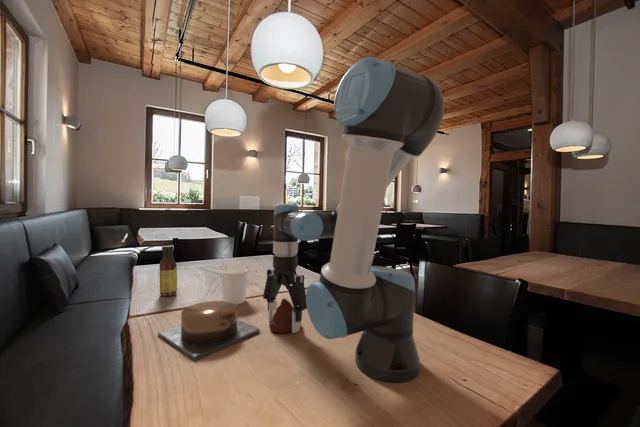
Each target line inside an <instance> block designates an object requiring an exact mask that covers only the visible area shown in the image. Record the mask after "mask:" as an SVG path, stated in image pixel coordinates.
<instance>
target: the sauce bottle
mask: <svg viewBox="0 0 640 427" xmlns="http://www.w3.org/2000/svg"><path fill="white" fill-rule="evenodd" d="M161 251H162V258H161V260H160V261H159V272H158V274H159V276H158V277H159V295H160V296H161V297H163V298H164V297H165V298H166V297H167V298H168V297H172V296H175V295H176V294H177V292H178V280H177V279H178V272H177V271H178V270H177V268H178V267H177V266H178V265H177V262H176V260H175V258H174V245H163V246H161Z"/></svg>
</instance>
